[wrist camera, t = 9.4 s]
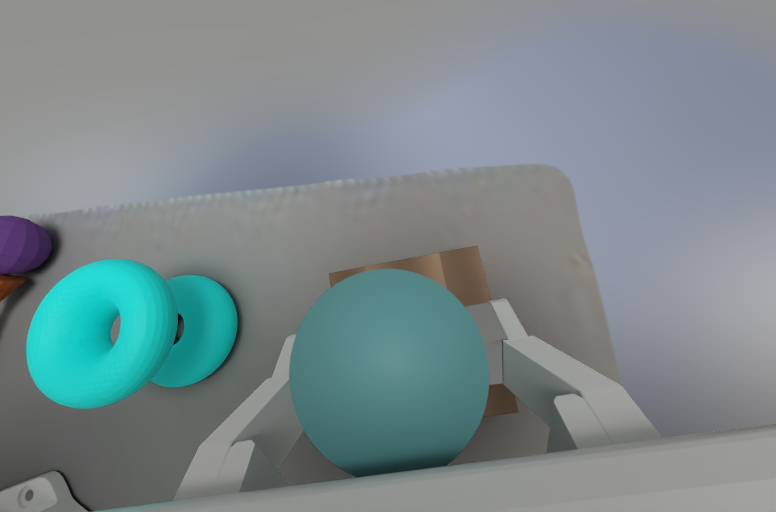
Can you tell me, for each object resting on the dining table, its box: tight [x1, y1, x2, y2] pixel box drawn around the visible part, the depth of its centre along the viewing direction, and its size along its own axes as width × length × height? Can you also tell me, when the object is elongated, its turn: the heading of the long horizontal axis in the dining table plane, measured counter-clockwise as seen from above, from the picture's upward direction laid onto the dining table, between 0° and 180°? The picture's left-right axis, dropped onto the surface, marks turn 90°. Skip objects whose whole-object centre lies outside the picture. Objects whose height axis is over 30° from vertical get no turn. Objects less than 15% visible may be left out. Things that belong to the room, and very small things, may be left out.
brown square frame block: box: [329, 246, 518, 417], centre depth 24 cm, size 12×12×4 cm
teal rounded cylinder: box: [289, 269, 489, 477], centre depth 10 cm, size 4×4×9 cm
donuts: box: [26, 259, 238, 409], centre depth 24 cm, size 10×10×10 cm
